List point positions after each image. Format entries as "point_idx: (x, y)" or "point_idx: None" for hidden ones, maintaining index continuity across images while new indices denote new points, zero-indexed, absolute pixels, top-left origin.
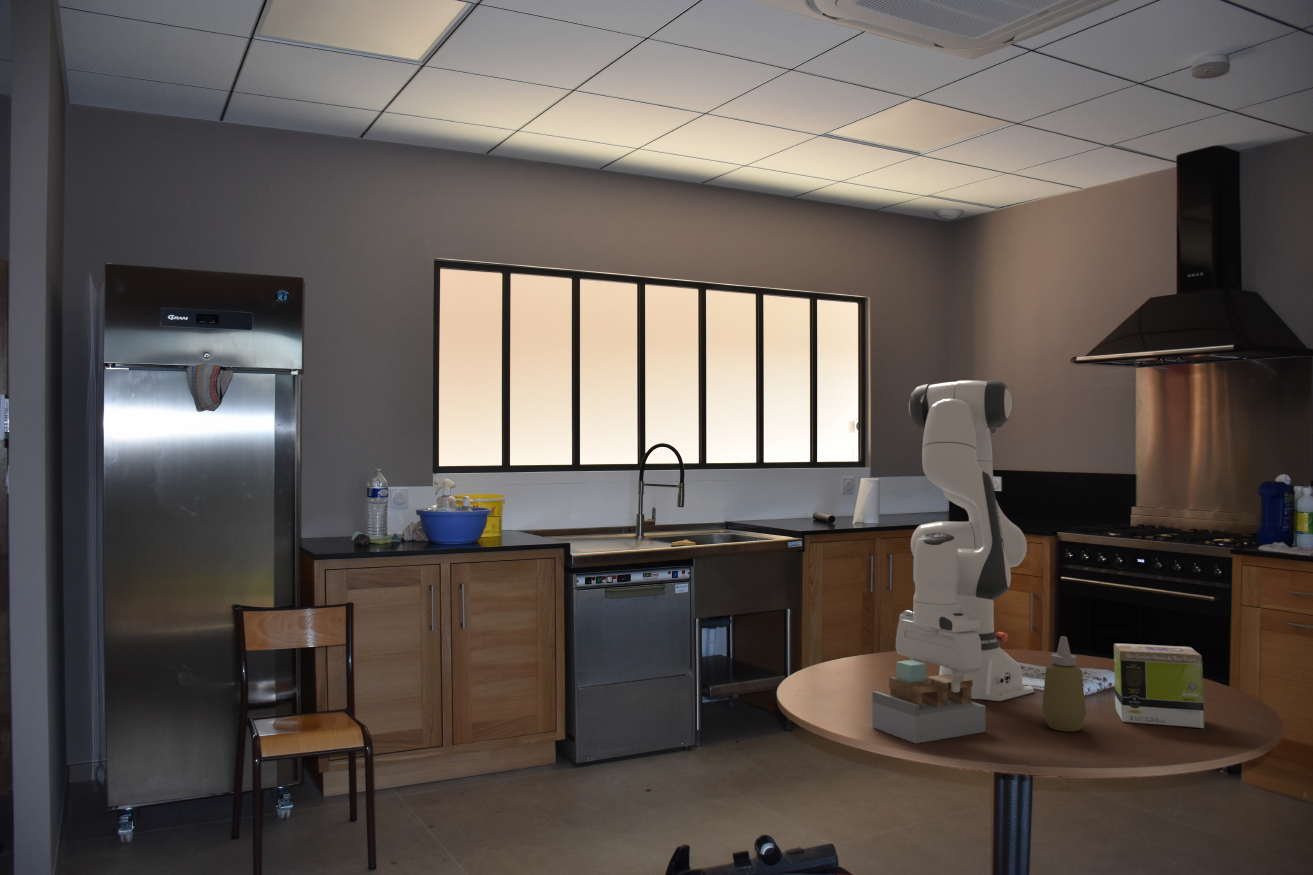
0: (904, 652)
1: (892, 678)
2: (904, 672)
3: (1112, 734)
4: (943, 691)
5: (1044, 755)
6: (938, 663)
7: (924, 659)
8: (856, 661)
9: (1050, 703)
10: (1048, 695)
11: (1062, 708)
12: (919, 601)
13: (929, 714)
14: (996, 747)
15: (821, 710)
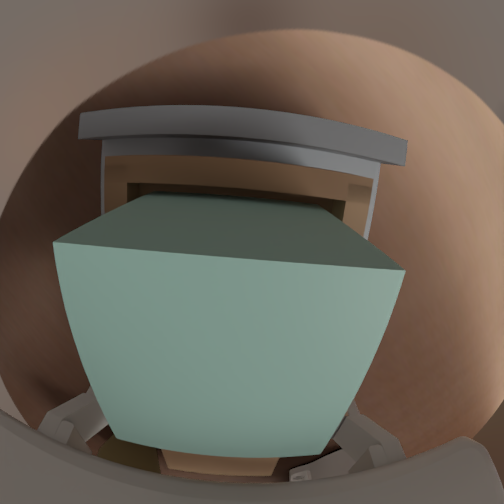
0: (437, 462)
1: (337, 173)
2: (212, 218)
3: (98, 445)
4: None
5: (16, 315)
6: (130, 474)
7: (269, 491)
8: (496, 404)
9: (117, 462)
10: None
11: (102, 456)
12: None
13: (101, 196)
14: (55, 289)
15: (489, 174)
